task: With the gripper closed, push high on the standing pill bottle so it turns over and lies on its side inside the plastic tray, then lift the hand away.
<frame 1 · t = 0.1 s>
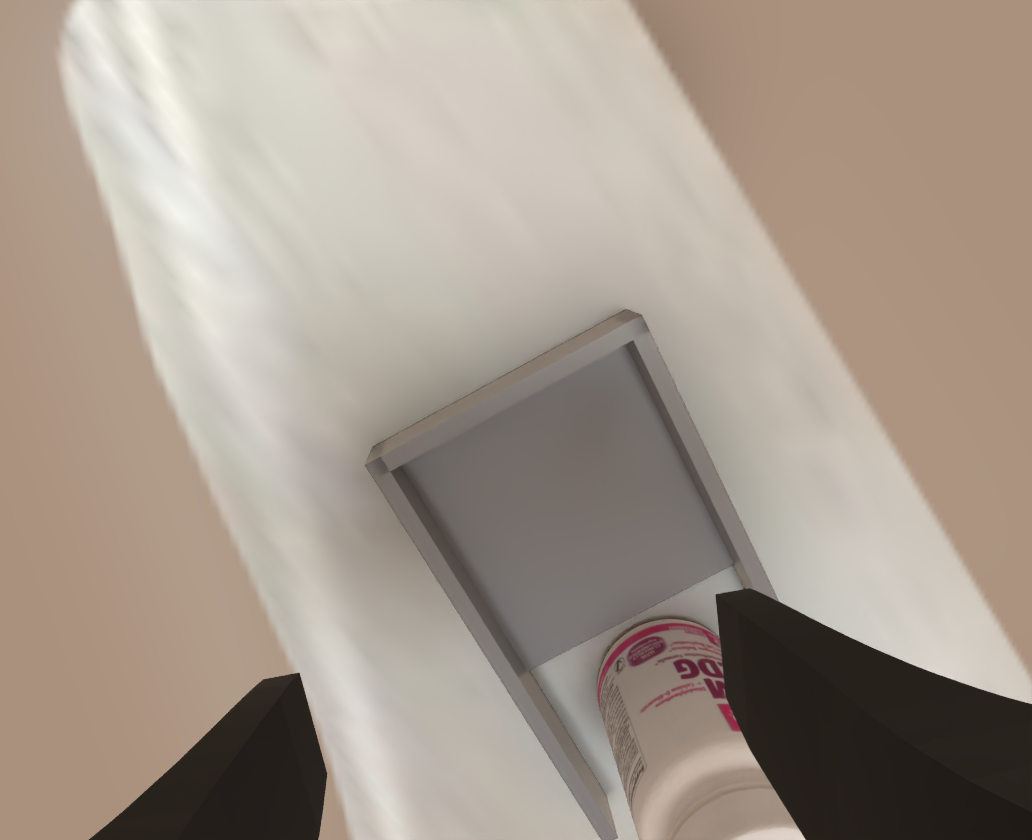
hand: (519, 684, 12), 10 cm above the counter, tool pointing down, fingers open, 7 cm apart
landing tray: (663, 677, 24), on the counter
pill bottle: (661, 673, 24), on the counter
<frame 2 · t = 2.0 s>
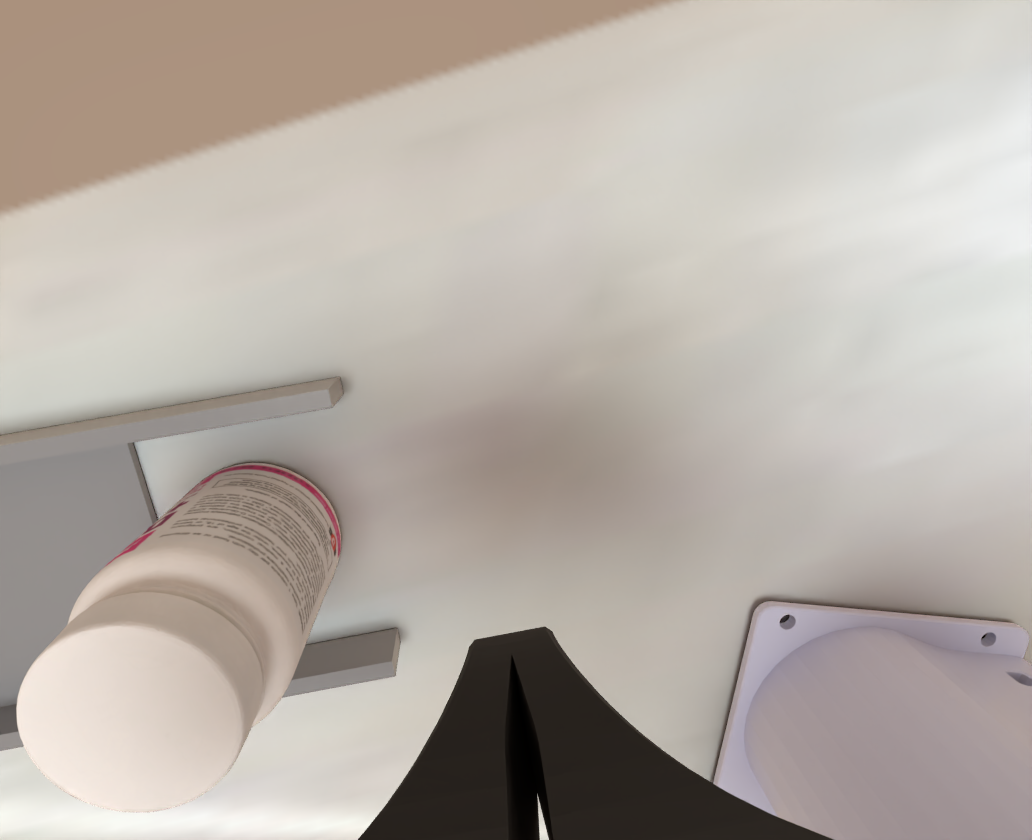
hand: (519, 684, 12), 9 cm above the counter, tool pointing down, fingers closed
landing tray: (261, 536, 21), on the counter
pill bottle: (263, 532, 21), on the counter
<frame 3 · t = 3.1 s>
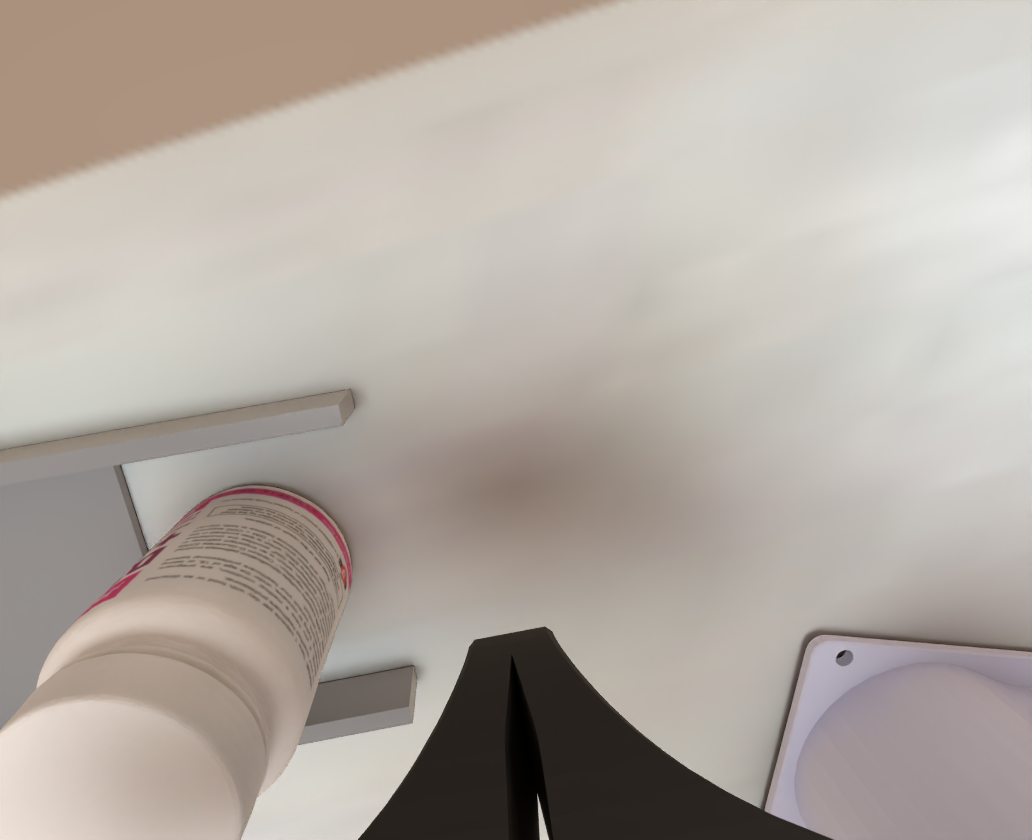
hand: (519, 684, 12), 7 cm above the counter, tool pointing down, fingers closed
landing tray: (263, 565, 18), on the counter
pill bottle: (265, 561, 19), on the counter
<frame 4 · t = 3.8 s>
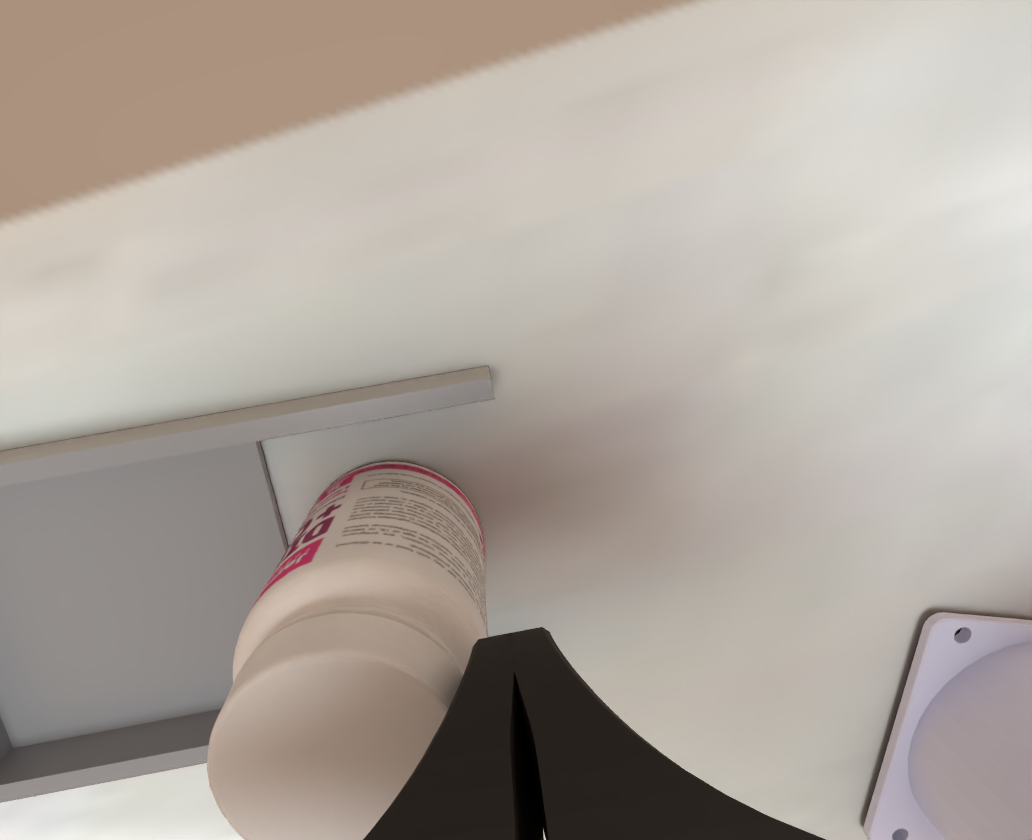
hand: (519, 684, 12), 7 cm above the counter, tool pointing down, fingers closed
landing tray: (394, 542, 19), on the counter
pill bottle: (395, 538, 19), on the counter, touching gripper
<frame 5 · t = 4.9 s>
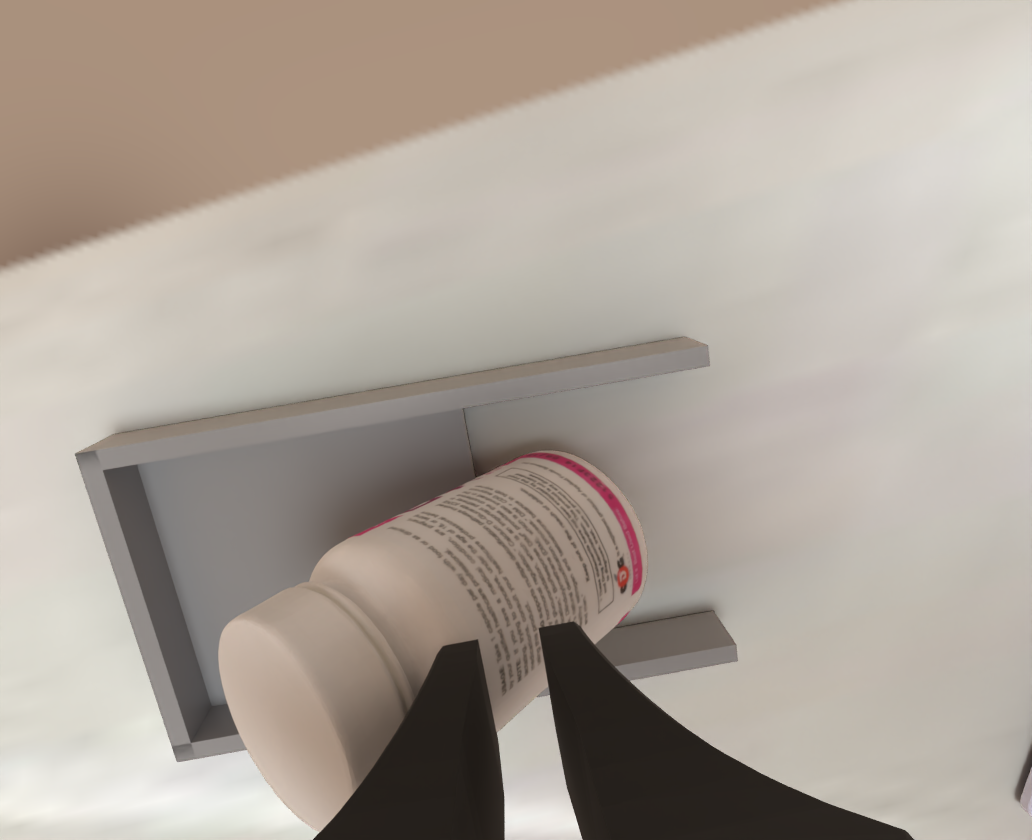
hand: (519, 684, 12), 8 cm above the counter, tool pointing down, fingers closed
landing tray: (584, 509, 19), on the counter
pill bottle: (574, 531, 18), point 1 cm above the counter, touching gripper
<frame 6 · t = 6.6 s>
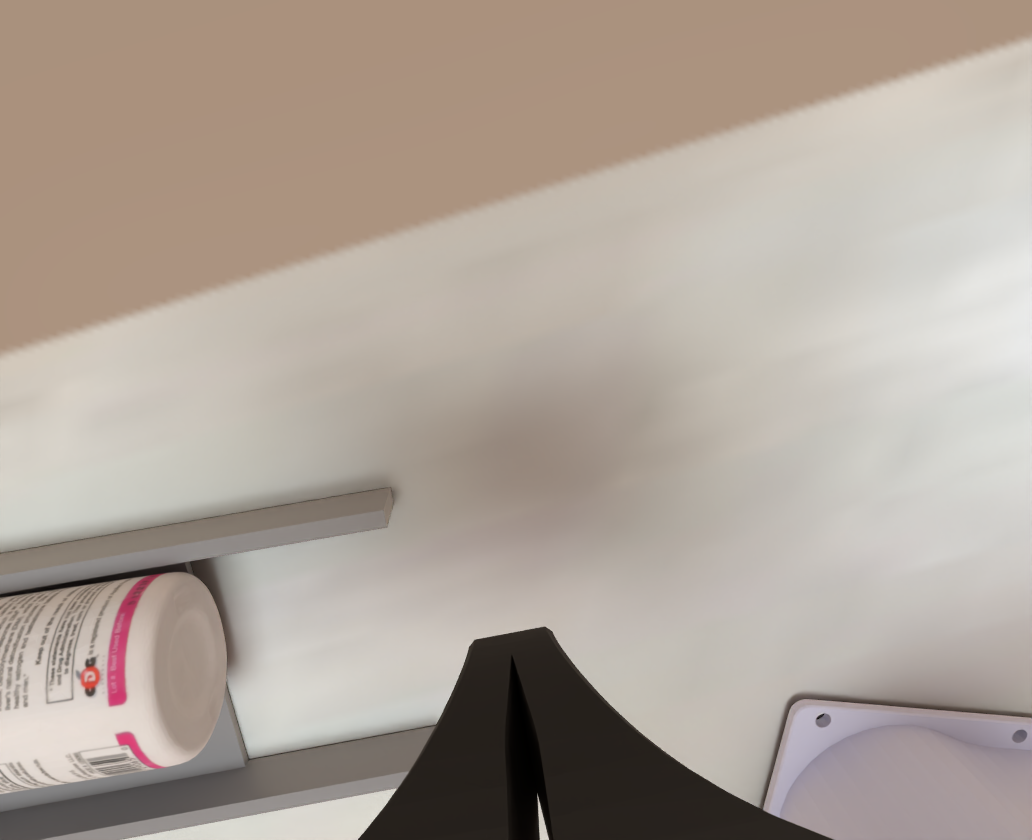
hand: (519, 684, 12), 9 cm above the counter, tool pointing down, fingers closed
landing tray: (310, 638, 21), on the counter
pill bottle: (203, 660, 18), point 3 cm above the counter, touching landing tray
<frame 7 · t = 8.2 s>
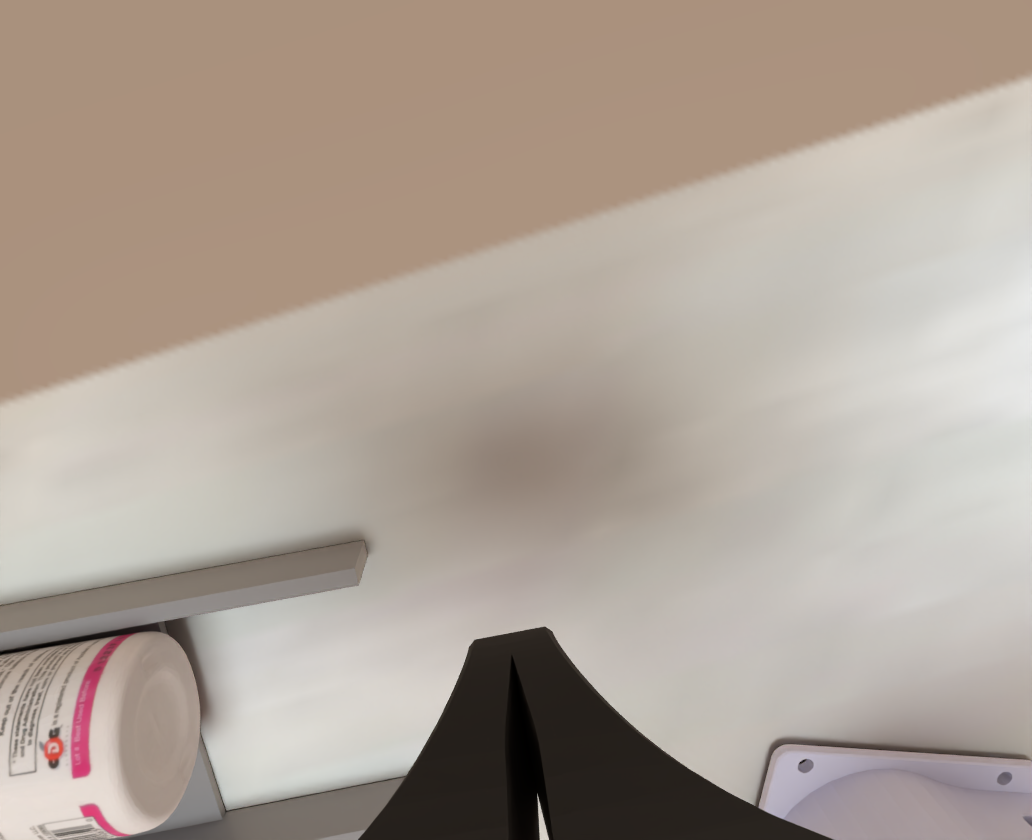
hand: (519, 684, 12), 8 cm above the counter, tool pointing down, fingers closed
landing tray: (285, 690, 21), on the counter
pill bottle: (173, 722, 18), point 3 cm above the counter, touching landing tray
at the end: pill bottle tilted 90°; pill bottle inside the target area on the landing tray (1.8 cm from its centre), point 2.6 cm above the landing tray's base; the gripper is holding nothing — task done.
